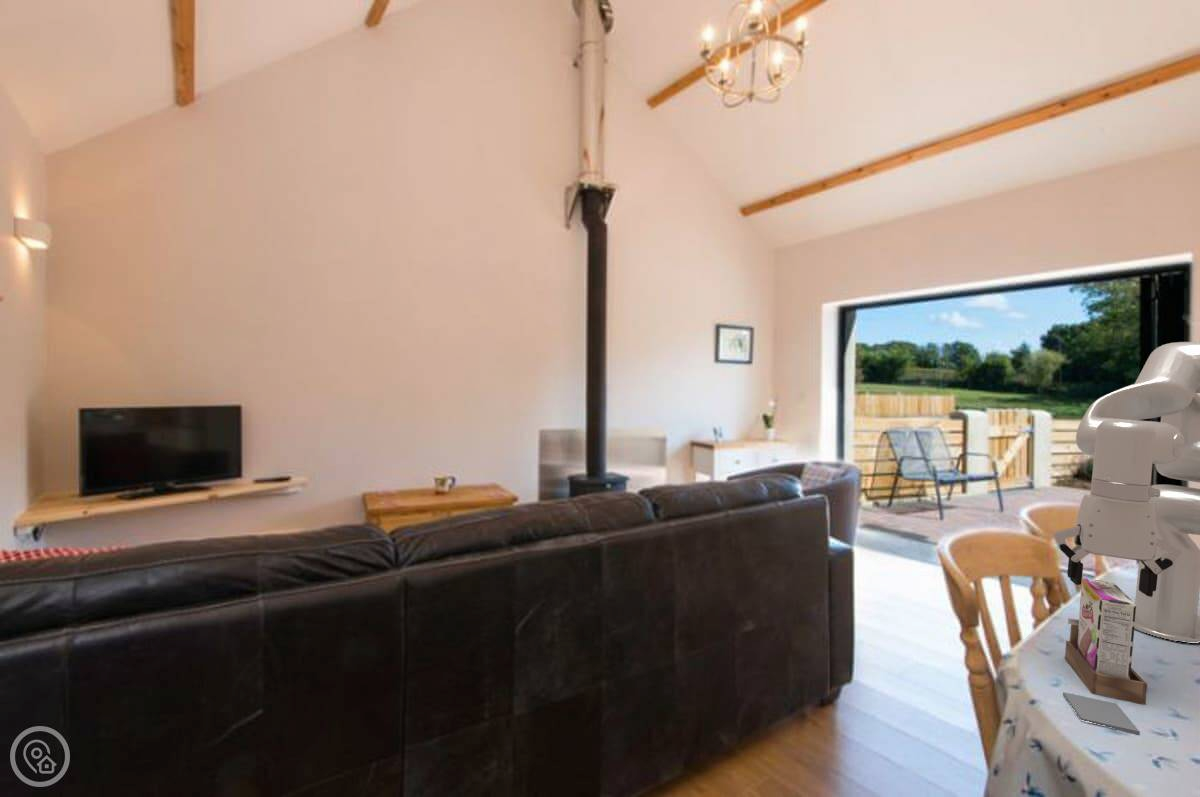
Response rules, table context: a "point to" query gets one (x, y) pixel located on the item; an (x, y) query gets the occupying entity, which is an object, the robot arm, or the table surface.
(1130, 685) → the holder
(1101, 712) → the pad
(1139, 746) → the table surface
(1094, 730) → the table surface
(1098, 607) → the candy bar box
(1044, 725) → the table surface
